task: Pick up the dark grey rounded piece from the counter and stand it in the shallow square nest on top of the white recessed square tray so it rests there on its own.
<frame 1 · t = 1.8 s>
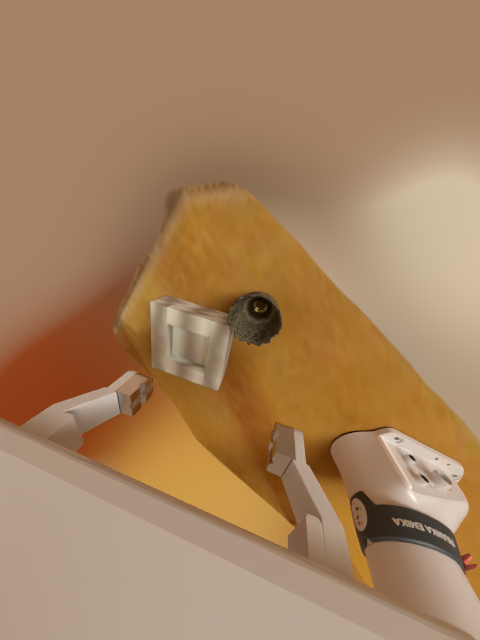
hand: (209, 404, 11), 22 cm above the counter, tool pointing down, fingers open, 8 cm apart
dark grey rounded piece: (261, 304, 30), on the counter
white recessed square tray: (198, 337, 36), on the counter
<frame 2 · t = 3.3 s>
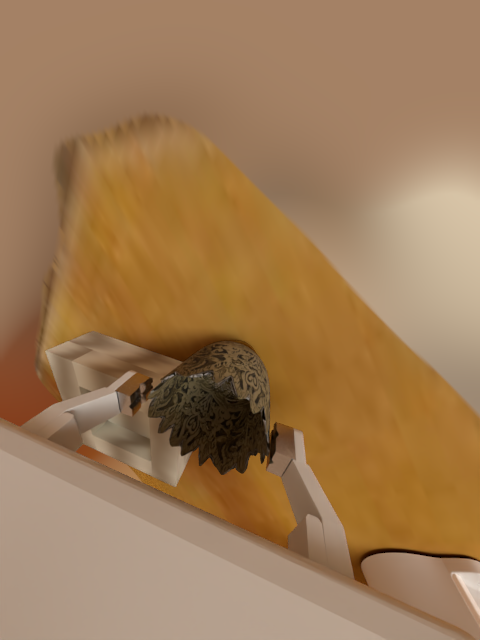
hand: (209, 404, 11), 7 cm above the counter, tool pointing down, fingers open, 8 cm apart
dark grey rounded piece: (241, 353, 17), on the counter
white recessed square tray: (149, 392, 23), on the counter
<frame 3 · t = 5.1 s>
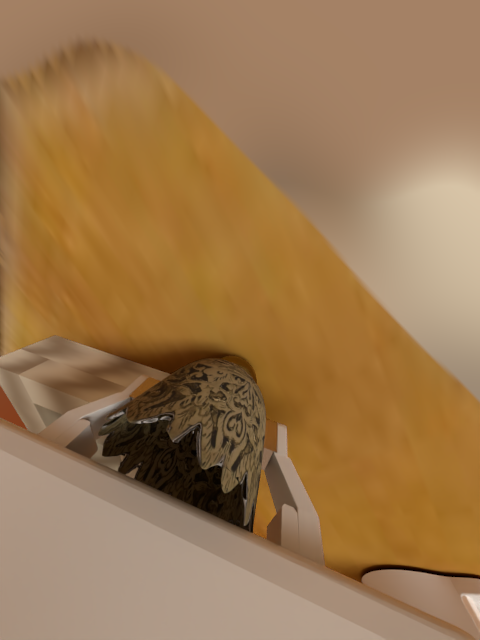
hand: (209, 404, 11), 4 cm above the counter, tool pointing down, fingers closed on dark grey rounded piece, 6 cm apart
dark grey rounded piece: (238, 370, 14), on the counter, touching gripper
white recessed square tray: (127, 402, 20), on the counter
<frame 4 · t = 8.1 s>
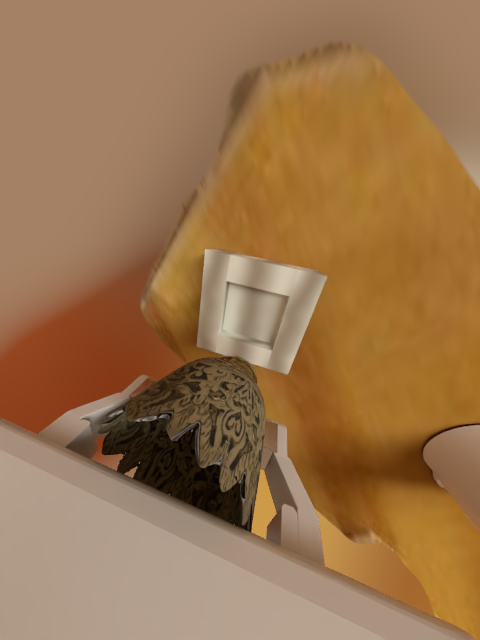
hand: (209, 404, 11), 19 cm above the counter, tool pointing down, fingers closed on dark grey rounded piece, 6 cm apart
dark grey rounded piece: (238, 369, 14), point 15 cm above the counter, touching gripper
white recessed square tray: (255, 306, 28), on the counter
when the fingers open (7 cm above the counter, at t = 11.6 s): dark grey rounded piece stays where it is, resting on white recessed square tray.
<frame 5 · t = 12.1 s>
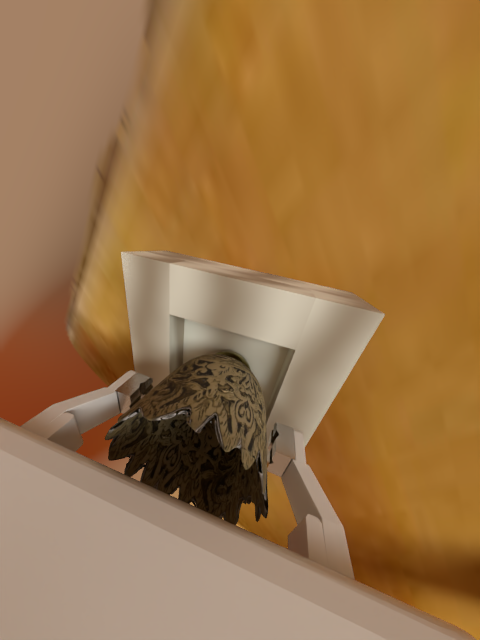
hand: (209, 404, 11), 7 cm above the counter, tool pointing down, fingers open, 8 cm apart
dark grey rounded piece: (232, 363, 14), point 2 cm above the counter, touching white recessed square tray
white recessed square tray: (237, 345, 17), on the counter, touching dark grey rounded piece
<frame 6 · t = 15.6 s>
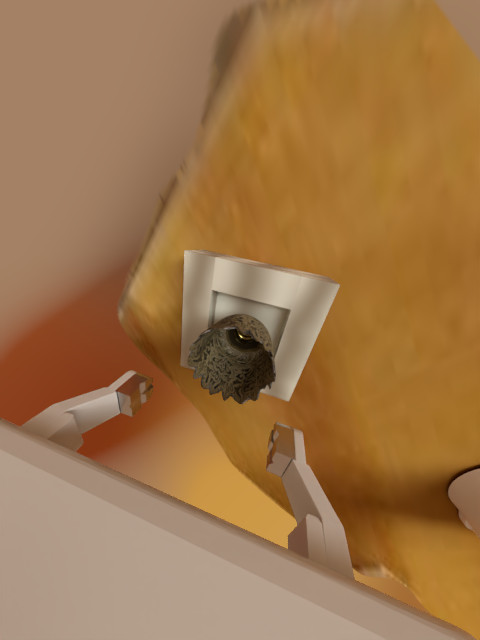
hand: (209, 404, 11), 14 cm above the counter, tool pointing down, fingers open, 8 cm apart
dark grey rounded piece: (247, 327, 21), point 2 cm above the counter, touching white recessed square tray
white recessed square tray: (250, 317, 23), on the counter, touching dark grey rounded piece
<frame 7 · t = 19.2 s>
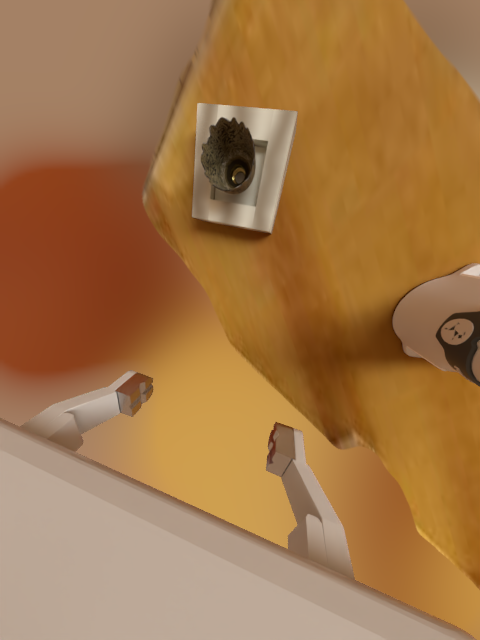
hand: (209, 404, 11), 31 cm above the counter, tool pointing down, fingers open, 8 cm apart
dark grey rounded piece: (240, 178, 29), point 2 cm above the counter, touching white recessed square tray
white recessed square tray: (243, 183, 32), on the counter, touching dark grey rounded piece
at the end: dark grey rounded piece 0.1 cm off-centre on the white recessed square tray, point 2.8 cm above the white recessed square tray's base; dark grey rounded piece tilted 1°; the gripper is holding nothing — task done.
